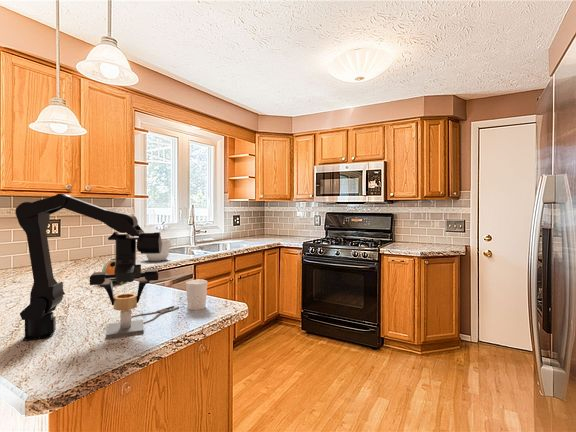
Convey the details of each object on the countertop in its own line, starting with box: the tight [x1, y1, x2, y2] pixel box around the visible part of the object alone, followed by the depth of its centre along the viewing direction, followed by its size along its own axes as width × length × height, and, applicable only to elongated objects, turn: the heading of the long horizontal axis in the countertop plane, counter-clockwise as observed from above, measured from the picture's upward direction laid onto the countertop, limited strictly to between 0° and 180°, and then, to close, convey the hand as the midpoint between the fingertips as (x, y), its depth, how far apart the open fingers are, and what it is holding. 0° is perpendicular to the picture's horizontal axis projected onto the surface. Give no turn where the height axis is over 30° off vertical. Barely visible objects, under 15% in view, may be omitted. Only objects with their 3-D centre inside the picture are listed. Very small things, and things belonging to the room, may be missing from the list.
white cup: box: [185, 279, 208, 311], centre depth 124 cm, size 8×8×10 cm
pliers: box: [131, 305, 180, 325], centre depth 115 cm, size 10×1×20 cm
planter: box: [145, 238, 171, 262], centre depth 233 cm, size 17×17×15 cm
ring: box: [113, 292, 138, 311], centre depth 100 cm, size 6×6×4 cm
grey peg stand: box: [105, 309, 145, 339], centre depth 100 cm, size 10×10×6 cm
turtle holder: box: [101, 257, 124, 285], centre depth 167 cm, size 12×18×12 cm
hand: (125, 303), depth 100 cm, fingers closed on ring, 6 cm apart
